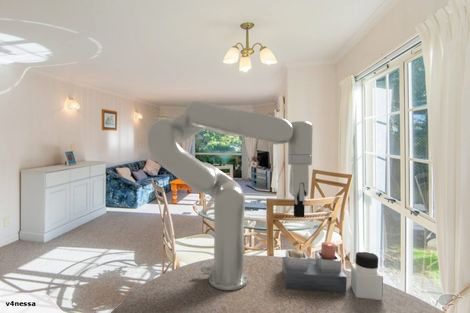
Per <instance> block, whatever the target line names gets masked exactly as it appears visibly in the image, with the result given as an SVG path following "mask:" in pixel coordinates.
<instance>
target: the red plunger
mask: <svg viewBox="0 0 470 313" xmlns="http://www.w3.org/2000/svg"><path fill="white" fill-rule="evenodd" d="M320 252H321V256H322V257H323V258H325V259H335V253H336V244H335V243H333V242H329V241H323V242H321V250H320Z"/></svg>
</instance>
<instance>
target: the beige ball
mask: <svg viewBox="0 0 470 313" xmlns="http://www.w3.org/2000/svg"><path fill="white" fill-rule="evenodd" d="M290 250H291V251H290V257H298V258H303V252H302V251H303V250H299V249H290Z"/></svg>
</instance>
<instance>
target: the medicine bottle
mask: <svg viewBox="0 0 470 313" xmlns="http://www.w3.org/2000/svg"><path fill="white" fill-rule="evenodd" d="M350 267H351V268H350V287H351V289H352V291H353V293H354V296H355V297H356V298H358V299H359V298H360V299H365V300H374V301H383V295H384V294H383V287H384V276H383V275H382V273H381V272H380V270H379V257H378V256H377V254H375V253H373V252H370V251H368V250H367V251H365V250H362V251H360V250H359V251H357V252H356V253H355V263H351V265H350Z"/></svg>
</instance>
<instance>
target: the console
mask: <svg viewBox="0 0 470 313" xmlns="http://www.w3.org/2000/svg"><path fill="white" fill-rule="evenodd" d="M291 250H292V249H287V250H285V256H282V263H281V264H282V269H281V270H282V278H283V282H284V288H285V290H295V291H308V292H324V293H325V292H326V293H339V294H340V293H342V294H347V280H348V279H347V278H348V277H347V275H346V273H345V272H344V270H343V269H342V259H341V257H340V256H339V255H338V253H336V252H335V259H325V258H323V257H322V256H321V251H316V252H315V258H313V257H312V258H311V257H309V256H308V254H307V252H306V251H305V250H301V251H302V252H303V258H298V257H290V251H291Z"/></svg>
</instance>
